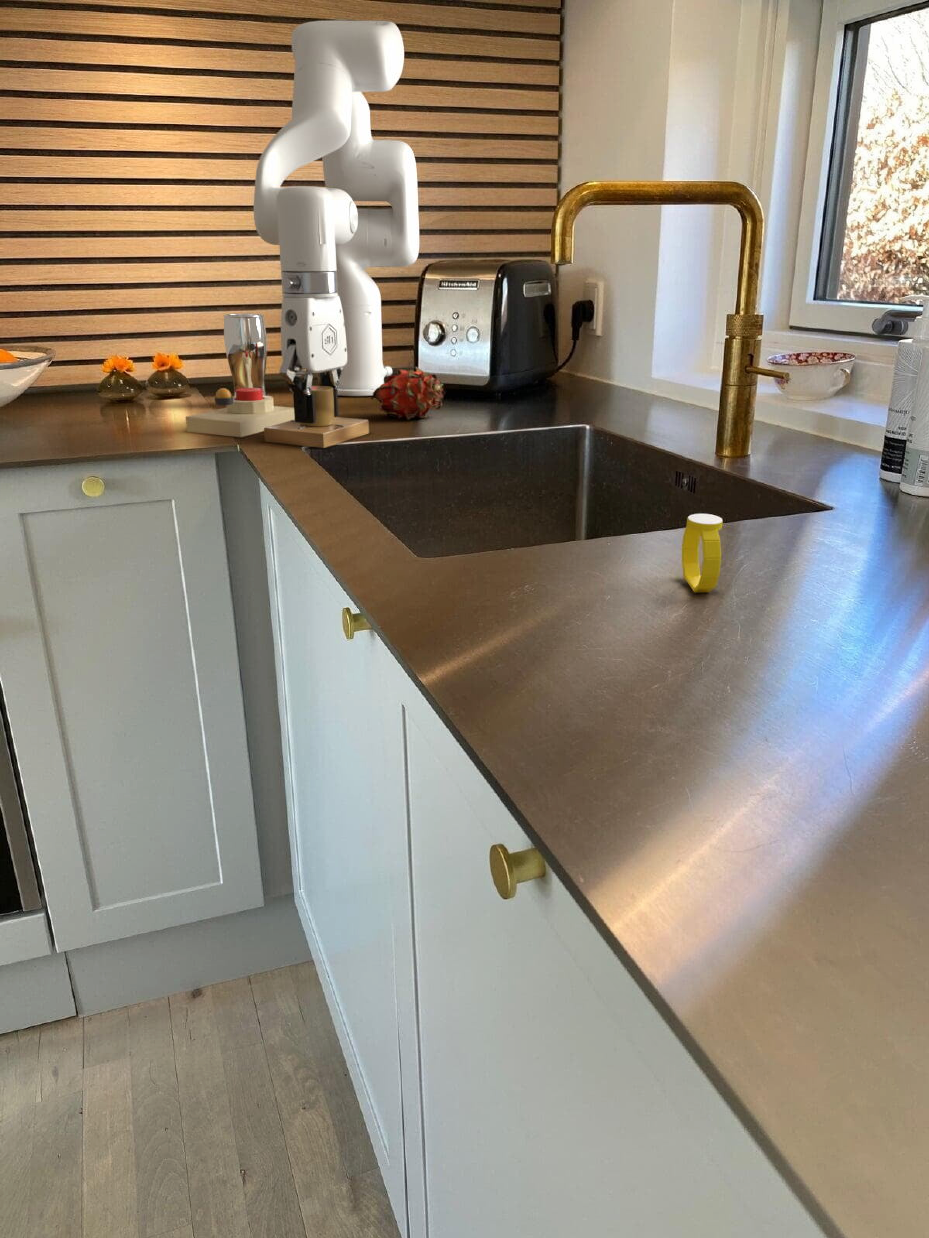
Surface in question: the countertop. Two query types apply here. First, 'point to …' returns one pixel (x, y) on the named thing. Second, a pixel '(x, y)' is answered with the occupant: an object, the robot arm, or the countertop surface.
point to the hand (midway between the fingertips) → (317, 418)
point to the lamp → (223, 397)
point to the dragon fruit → (410, 394)
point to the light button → (249, 394)
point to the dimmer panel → (316, 432)
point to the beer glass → (246, 349)
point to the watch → (708, 531)
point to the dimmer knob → (323, 406)
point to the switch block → (240, 418)
